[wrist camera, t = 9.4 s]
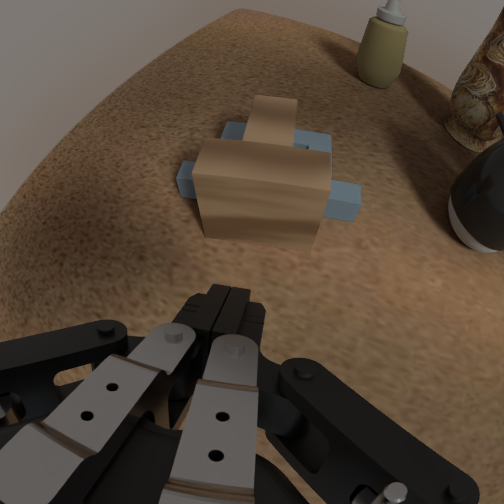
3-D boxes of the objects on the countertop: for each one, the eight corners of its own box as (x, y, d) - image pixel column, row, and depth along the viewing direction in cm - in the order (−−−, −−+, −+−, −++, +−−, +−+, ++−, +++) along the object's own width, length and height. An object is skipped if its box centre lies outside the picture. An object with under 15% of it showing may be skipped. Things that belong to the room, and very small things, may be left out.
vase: (431, 109, 43) (483, -37, 16) (474, 121, 43) (529, -7, 17) (455, 150, 38) (530, -14, 11) (499, 161, 38) (573, 23, 12)
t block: (310, 252, 29) (330, 190, 21) (205, 237, 30) (191, 172, 22) (314, 168, 34) (329, 104, 26) (228, 156, 35) (224, 92, 27)
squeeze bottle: (385, 97, 43) (413, 3, 27) (344, 76, 46) (362, -16, 30) (401, 85, 46) (427, 2, 30) (364, 65, 49) (382, -16, 33)
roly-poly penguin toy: (465, 186, 34) (518, 103, 21) (508, 247, 30) (579, 175, 16) (420, 205, 32) (480, 105, 19) (470, 279, 28) (559, 197, 14)
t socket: (353, 222, 31) (361, 204, 28) (181, 197, 32) (176, 178, 29) (350, 157, 35) (356, 139, 33) (204, 137, 37) (202, 119, 34)
